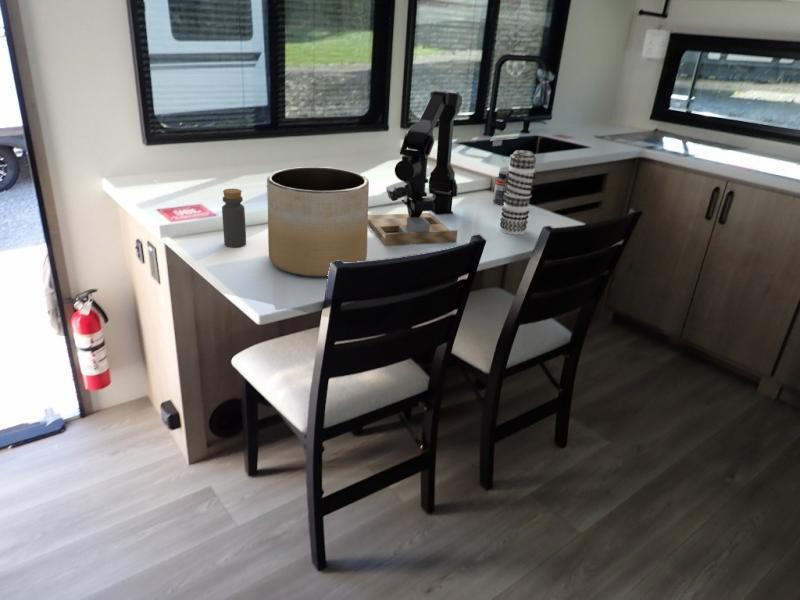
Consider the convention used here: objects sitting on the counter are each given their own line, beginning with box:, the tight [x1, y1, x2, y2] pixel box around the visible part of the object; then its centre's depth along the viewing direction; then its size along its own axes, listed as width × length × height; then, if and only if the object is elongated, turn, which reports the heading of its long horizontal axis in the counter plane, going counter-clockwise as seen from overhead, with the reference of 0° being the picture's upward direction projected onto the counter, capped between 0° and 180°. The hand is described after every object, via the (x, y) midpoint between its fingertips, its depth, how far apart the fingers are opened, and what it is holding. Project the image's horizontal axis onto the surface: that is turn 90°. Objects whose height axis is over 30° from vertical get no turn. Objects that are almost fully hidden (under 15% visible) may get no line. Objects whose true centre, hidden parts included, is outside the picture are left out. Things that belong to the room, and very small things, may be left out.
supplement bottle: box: [492, 170, 509, 205], centre depth 215 cm, size 6×6×11 cm
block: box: [406, 217, 430, 232], centre depth 173 cm, size 5×6×4 cm
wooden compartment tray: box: [368, 212, 458, 247], centre depth 180 cm, size 22×23×4 cm
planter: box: [266, 166, 370, 278], centre depth 150 cm, size 25×25×22 cm
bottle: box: [221, 188, 247, 248], centre depth 159 cm, size 6×6×15 cm
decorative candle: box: [499, 149, 538, 235], centre depth 183 cm, size 9×9×25 cm
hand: (412, 225), depth 177 cm, fingers closed
